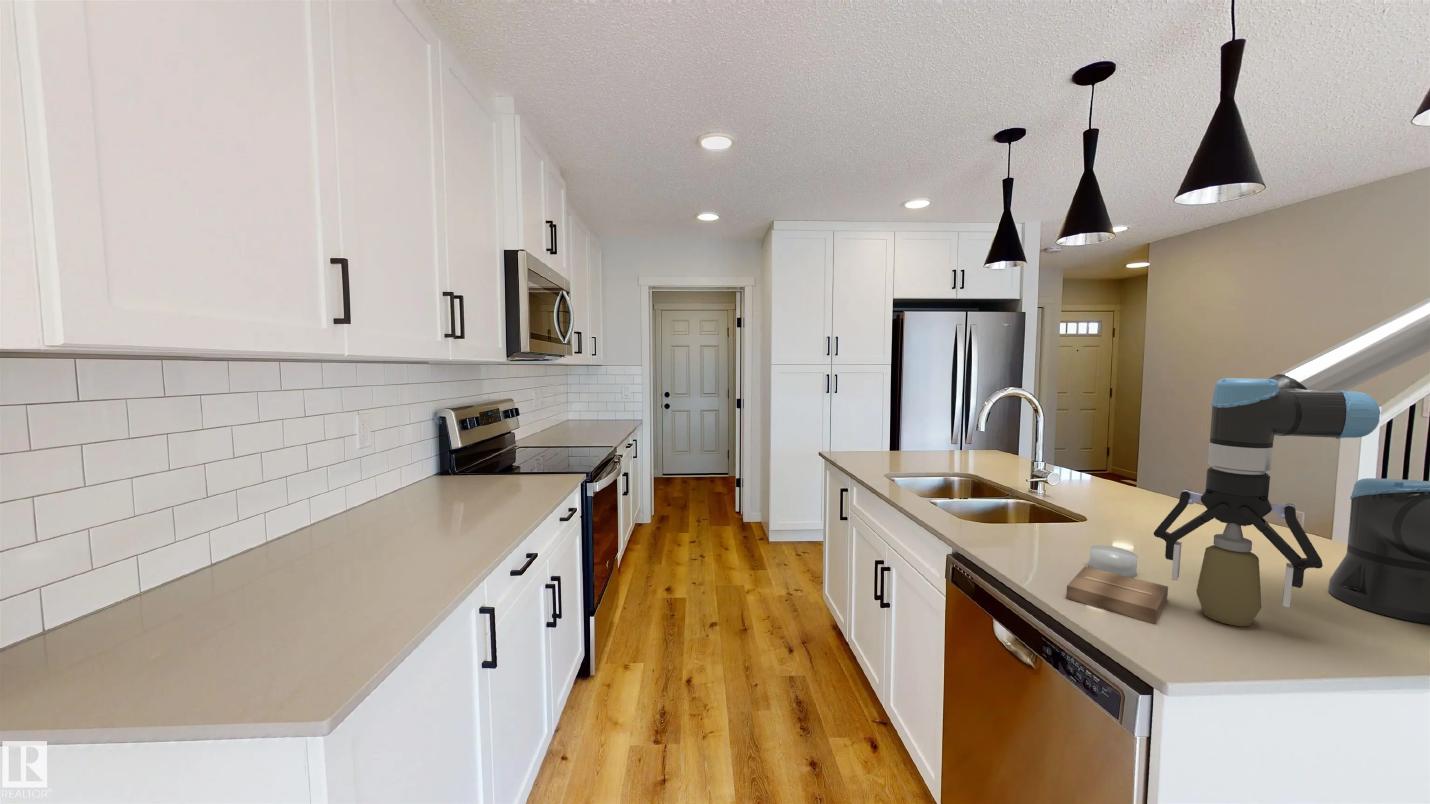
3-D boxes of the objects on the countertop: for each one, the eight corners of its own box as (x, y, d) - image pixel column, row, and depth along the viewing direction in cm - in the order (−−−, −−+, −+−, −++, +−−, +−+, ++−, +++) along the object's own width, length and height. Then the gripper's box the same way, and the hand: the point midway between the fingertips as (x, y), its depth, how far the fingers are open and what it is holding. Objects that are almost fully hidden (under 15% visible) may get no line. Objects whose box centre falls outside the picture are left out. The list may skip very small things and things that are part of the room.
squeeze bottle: (1239, 634, 85) (1247, 527, 83) (1182, 610, 92) (1190, 512, 91) (1272, 626, 87) (1281, 522, 85) (1214, 604, 95) (1222, 508, 93)
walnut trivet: (1167, 599, 97) (1168, 585, 97) (1155, 624, 88) (1156, 609, 88) (1084, 577, 106) (1084, 565, 106) (1066, 598, 98) (1066, 584, 98)
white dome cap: (1138, 570, 110) (1139, 552, 110) (1133, 581, 105) (1135, 562, 104) (1092, 559, 116) (1093, 542, 116) (1085, 570, 110) (1087, 552, 110)
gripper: (1352, 478, 81) (1338, 608, 83) (1146, 456, 99) (1139, 563, 101) (1357, 486, 76) (1342, 625, 78) (1139, 461, 94) (1131, 574, 96)
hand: (1227, 590), depth 89 cm, fingers open, 13 cm apart
